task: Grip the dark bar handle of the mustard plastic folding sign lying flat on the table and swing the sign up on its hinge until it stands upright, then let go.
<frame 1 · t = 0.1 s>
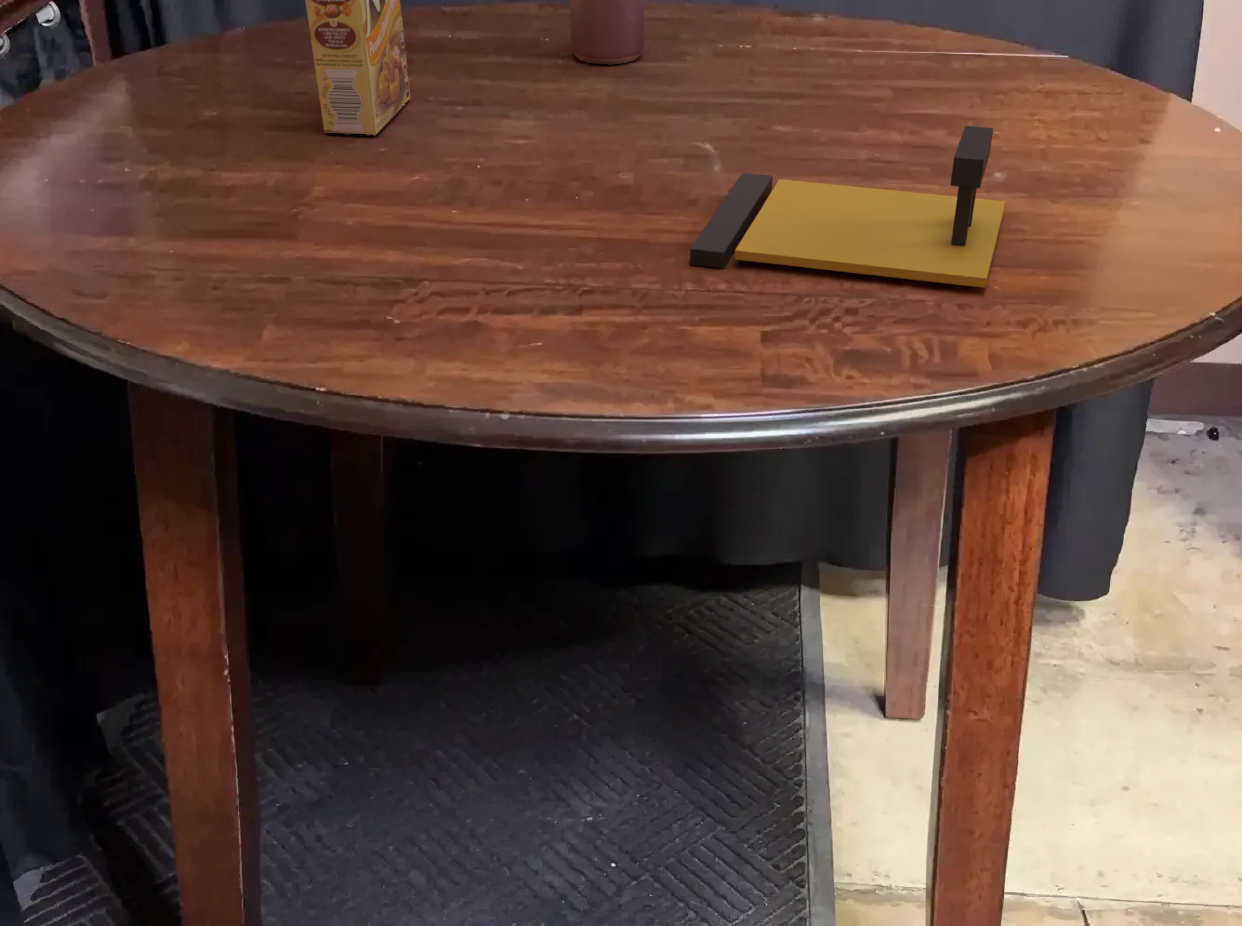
sign: (879, 185, 81), point 3 cm above the table, hinge at 0.0°
candy box: (368, 120, 103), on the table
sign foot: (757, 228, 85), on the table
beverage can: (607, 58, 115), on the table
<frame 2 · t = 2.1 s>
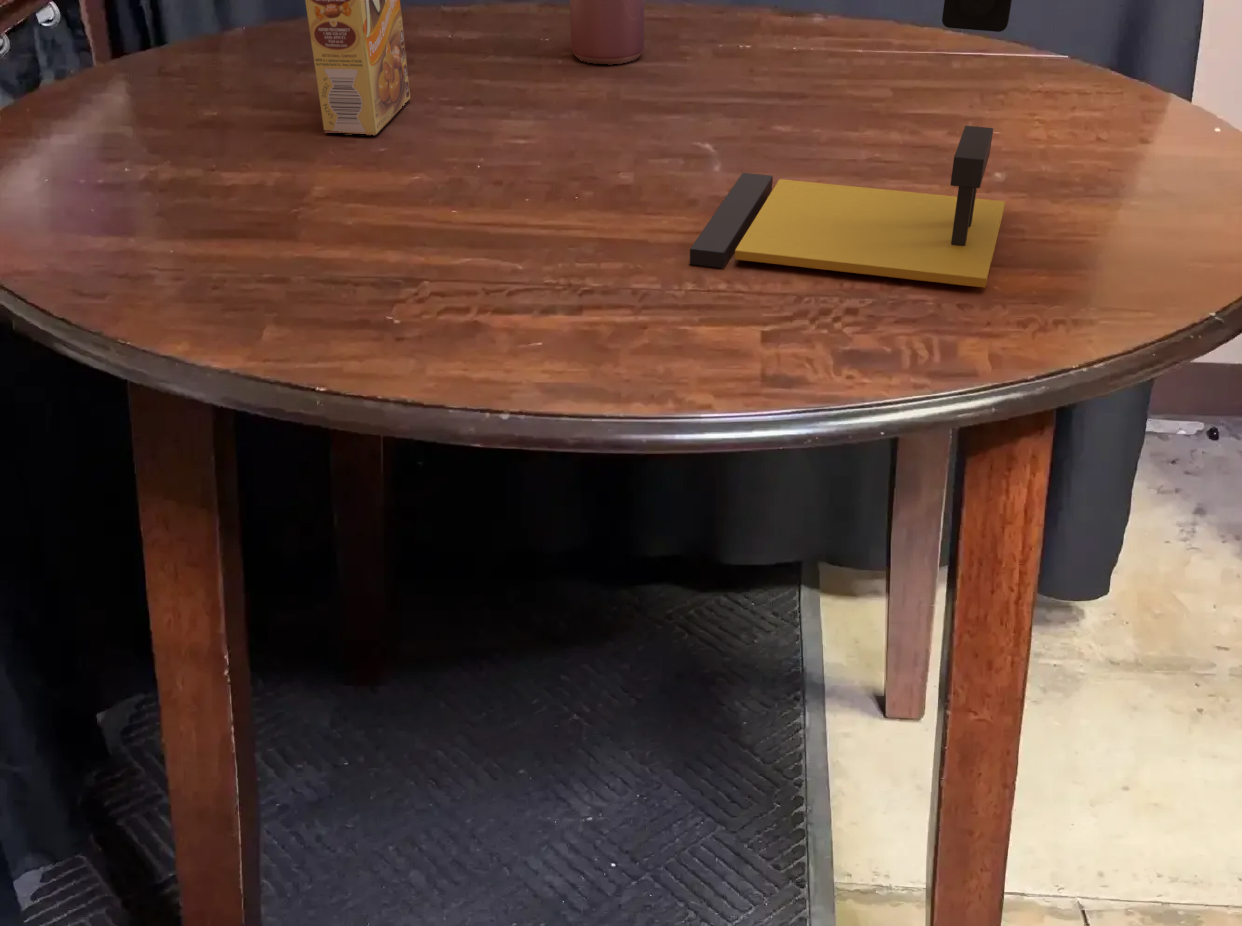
hand: (983, 4, 74), 14 cm above the table, tool pointing down, fingers open, 9 cm apart
nothing on the table moved.
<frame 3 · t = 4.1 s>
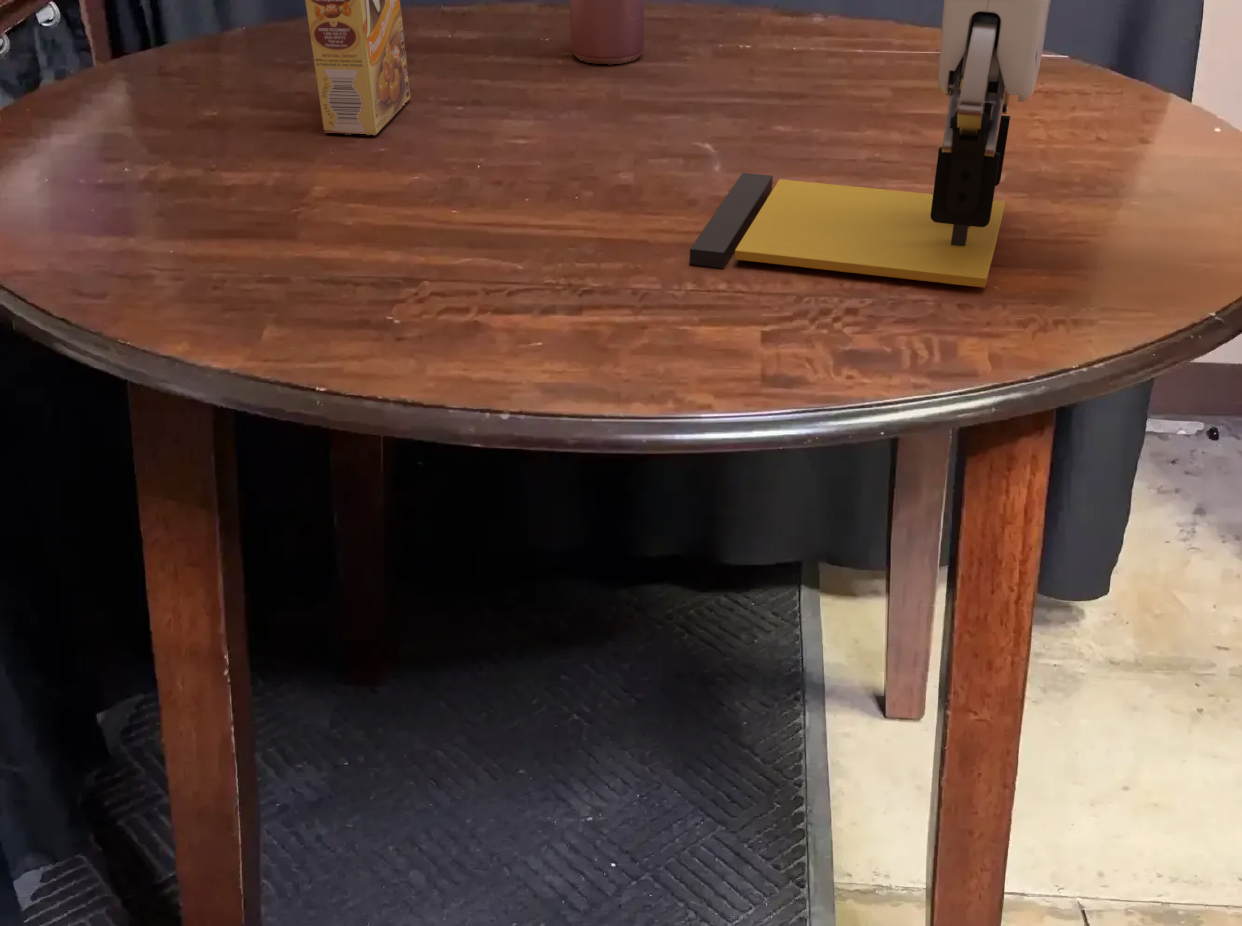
hand: (966, 199, 80), 3 cm above the table, tool pointing down, fingers closed on sign, 5 cm apart
sign: (879, 185, 81), point 3 cm above the table, hinge at 0.0°, touching gripper
everything else where it was.
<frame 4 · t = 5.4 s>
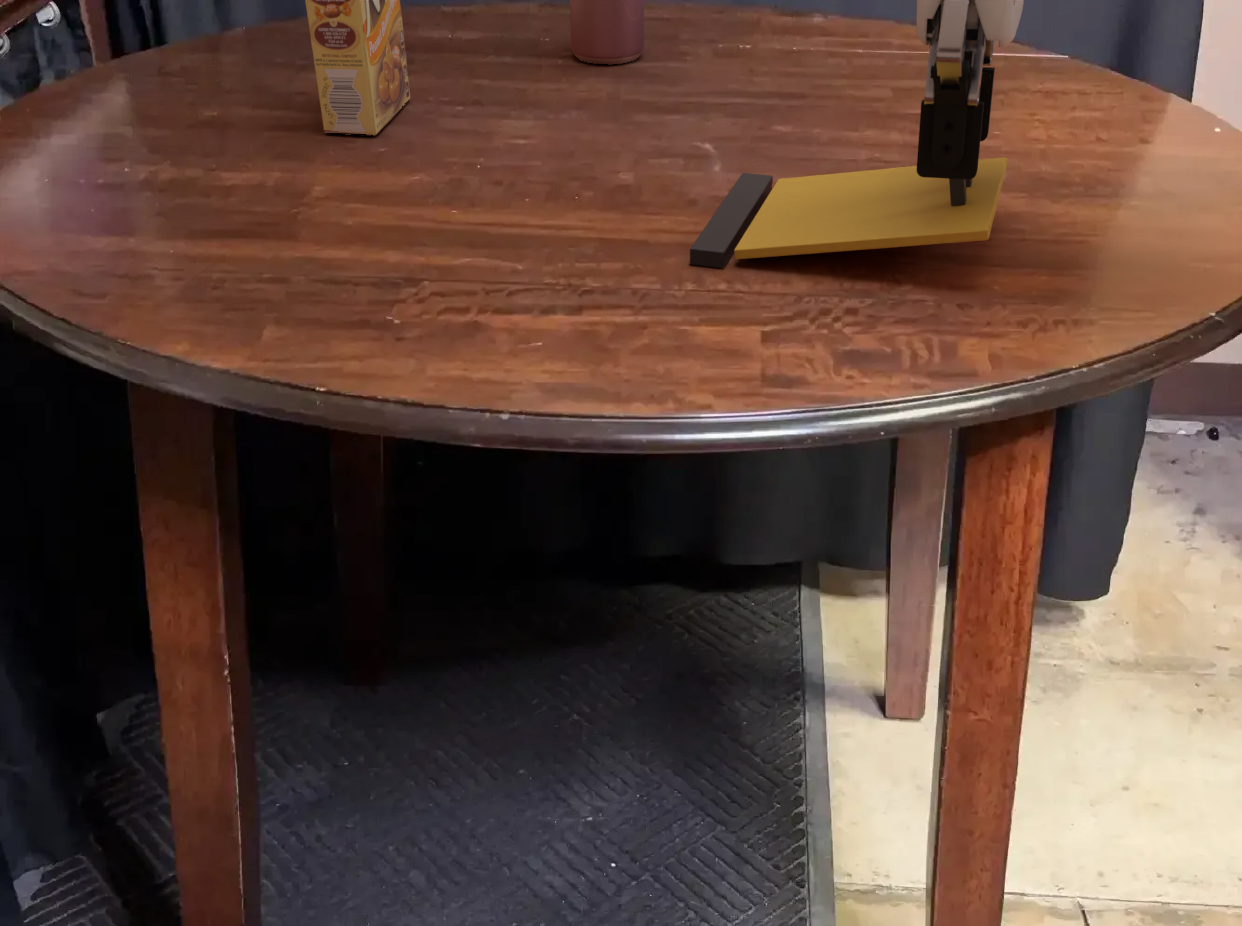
hand: (953, 154, 79), 6 cm above the table, tool pointing down, fingers closed on sign, 5 cm apart
sign: (870, 162, 80), point 5 cm above the table, hinge at 11.1°, touching gripper
everything else where it was.
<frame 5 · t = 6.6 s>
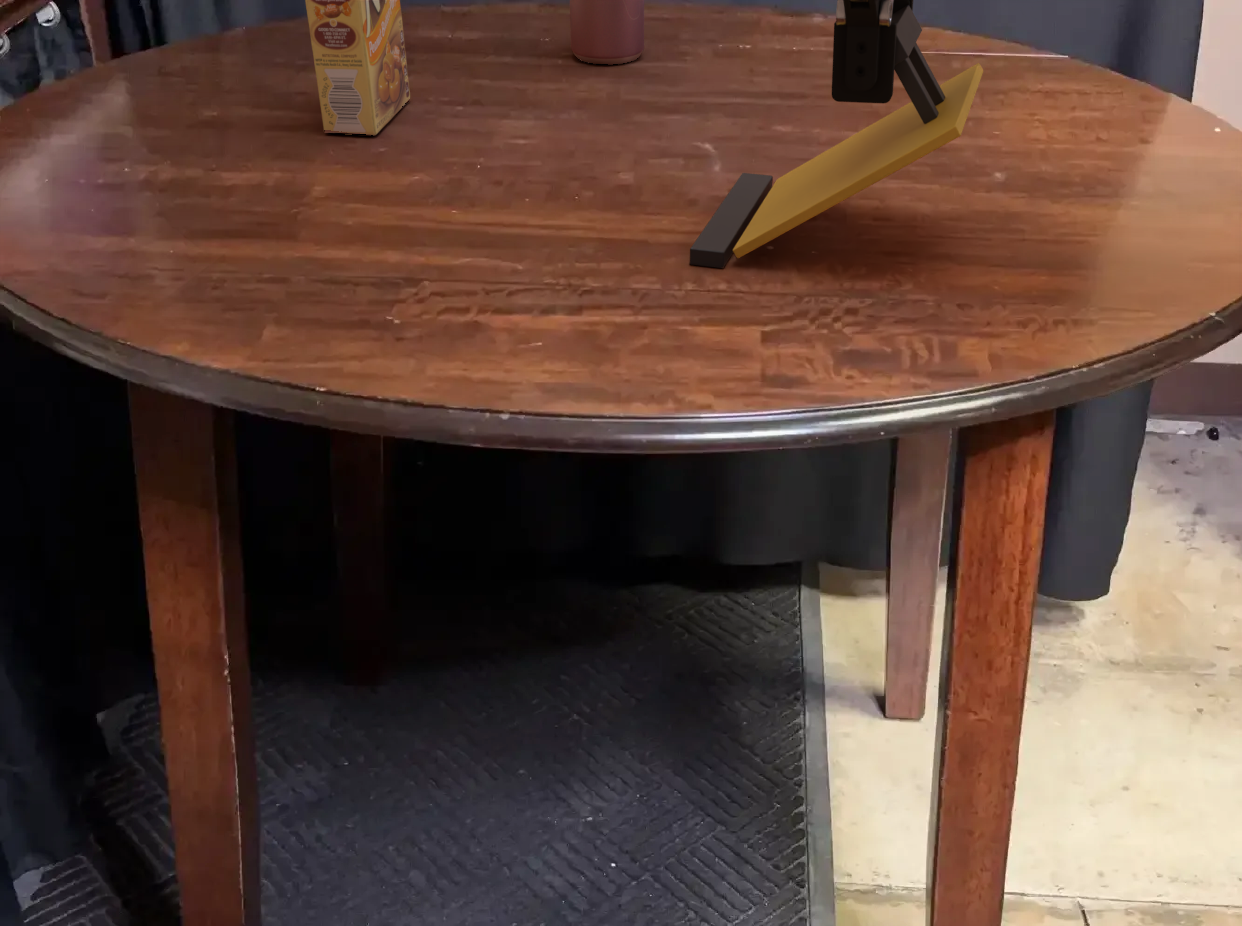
hand: (871, 80, 78), 9 cm above the table, tool pointing down, fingers closed on sign, 5 cm apart
sign: (836, 119, 80), point 7 cm above the table, hinge at 35.0°, touching gripper
everything else where it was.
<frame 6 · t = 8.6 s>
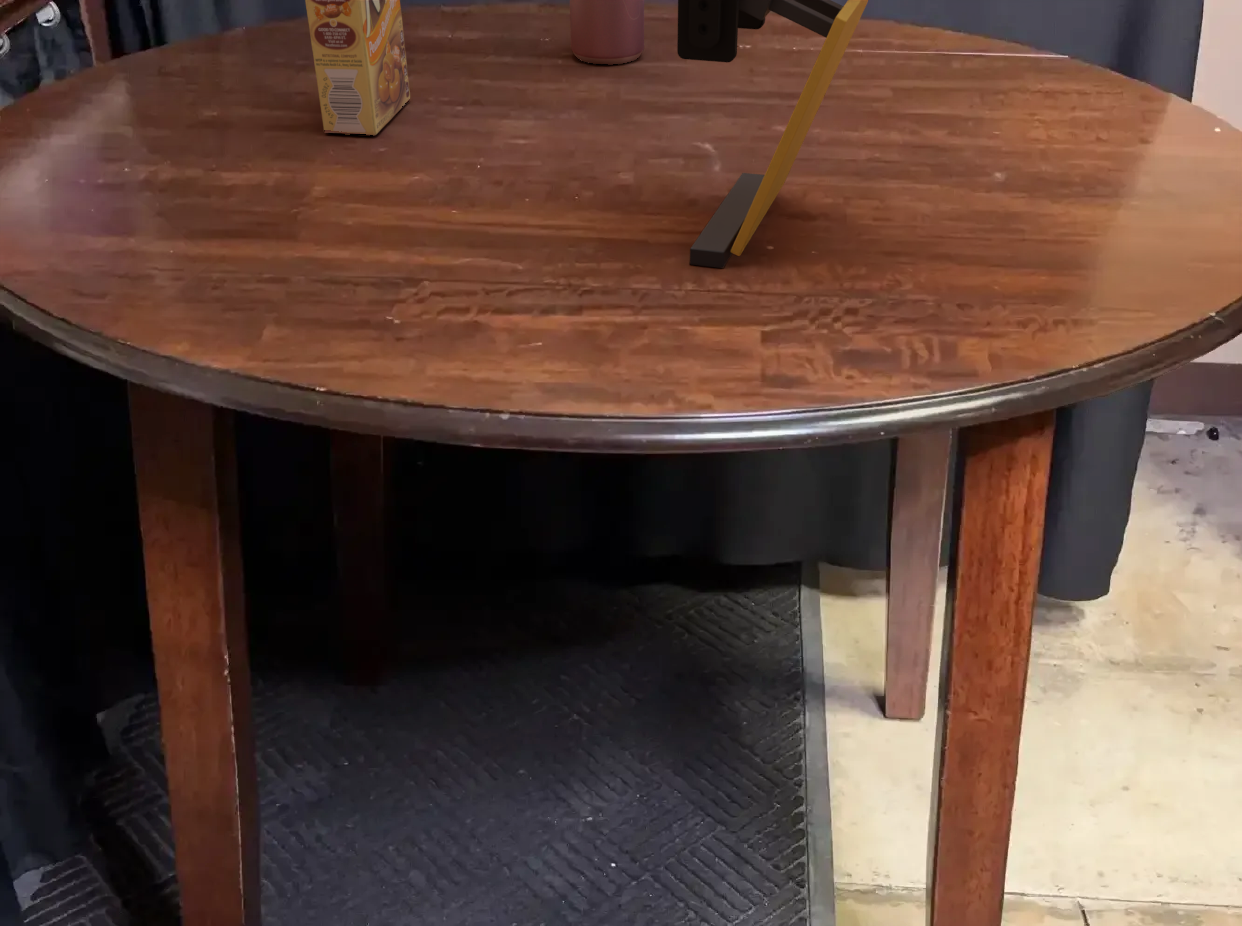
hand: (722, 39, 79), 11 cm above the table, tool pointing down, fingers open, 6 cm apart
sign: (764, 90, 80), point 8 cm above the table, hinge at 69.1°
everything else where it was.
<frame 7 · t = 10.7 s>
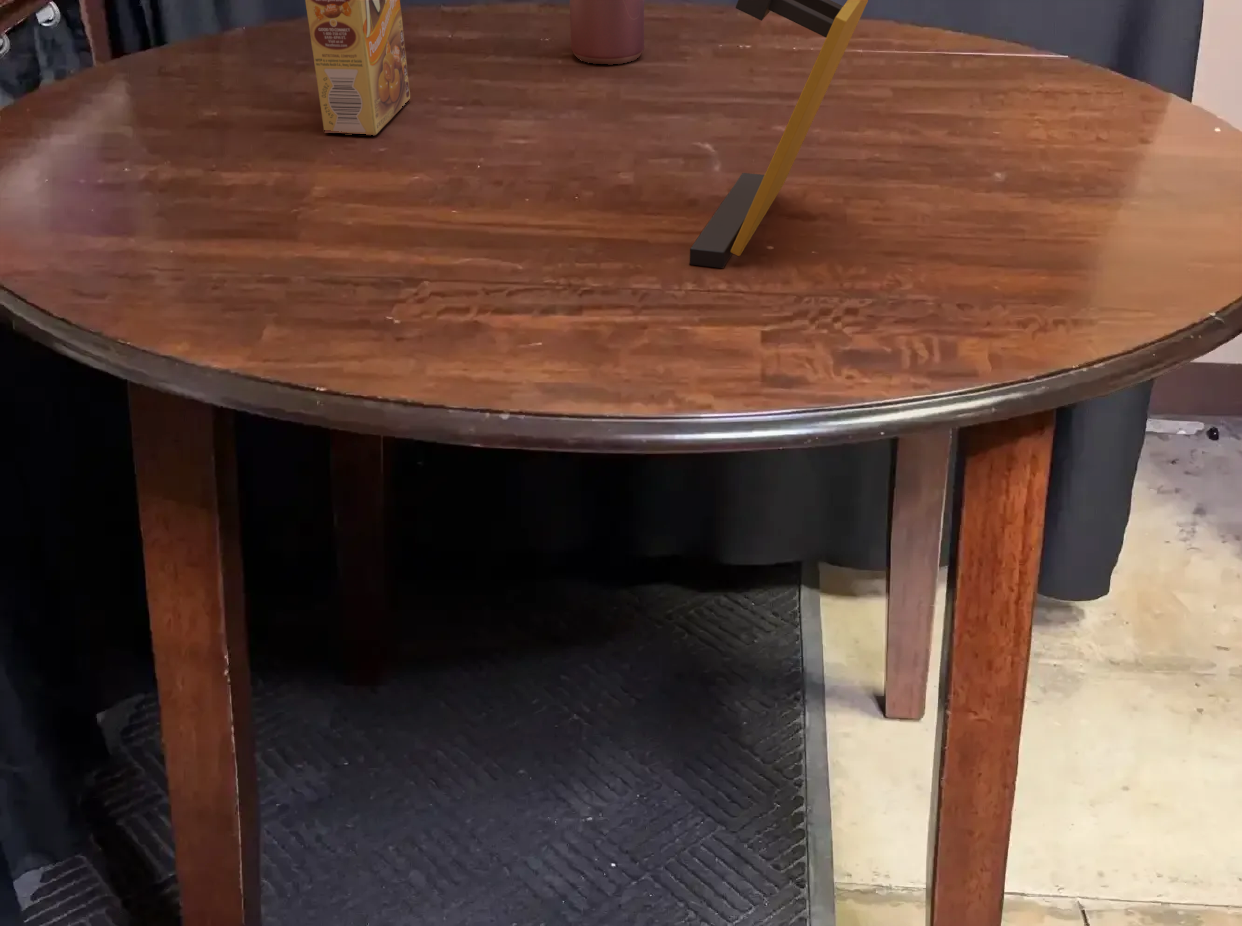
nothing on the table moved.
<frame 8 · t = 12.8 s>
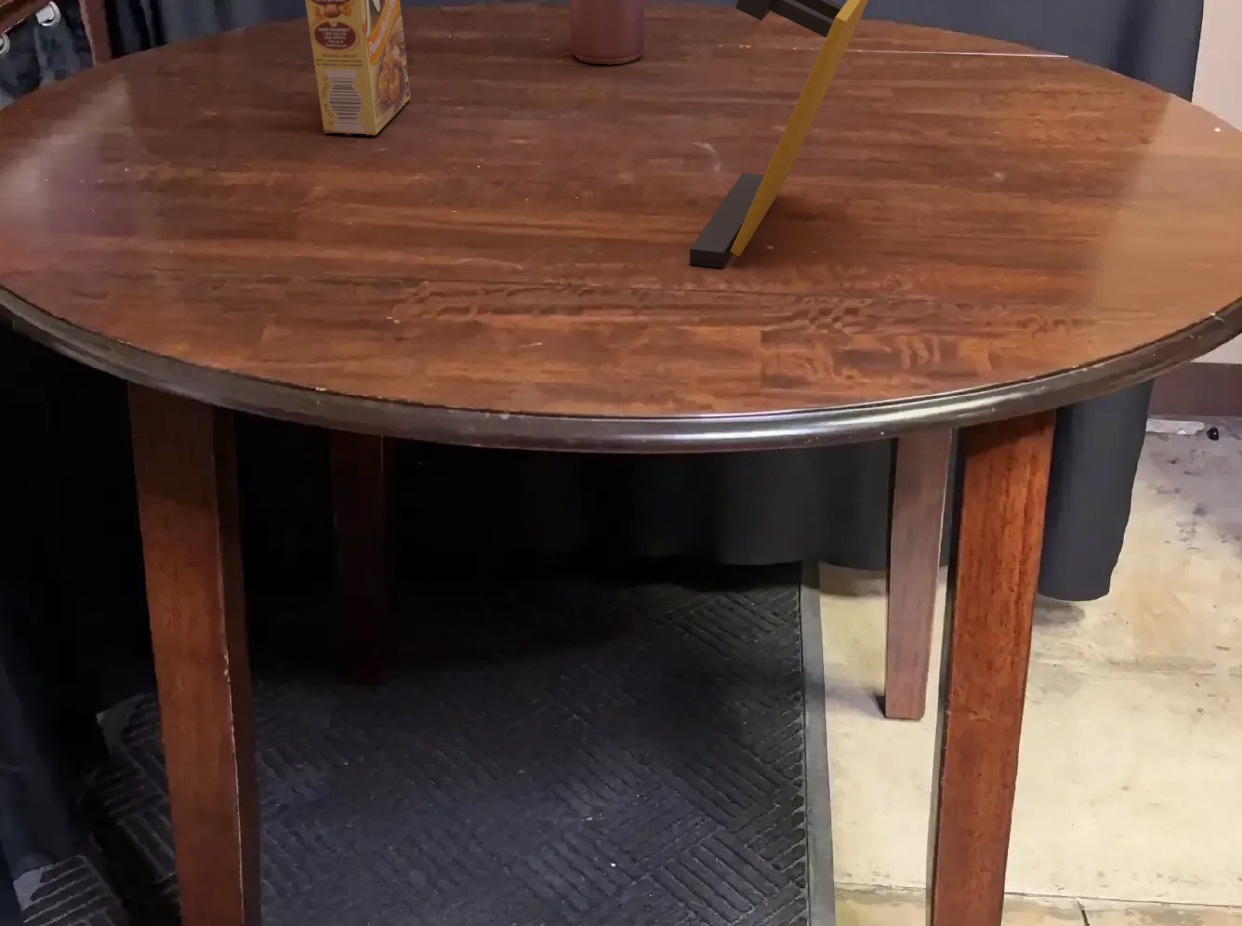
nothing on the table moved.
at the end: sign at +69° (first picture: +0°); the gripper is holding nothing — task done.
